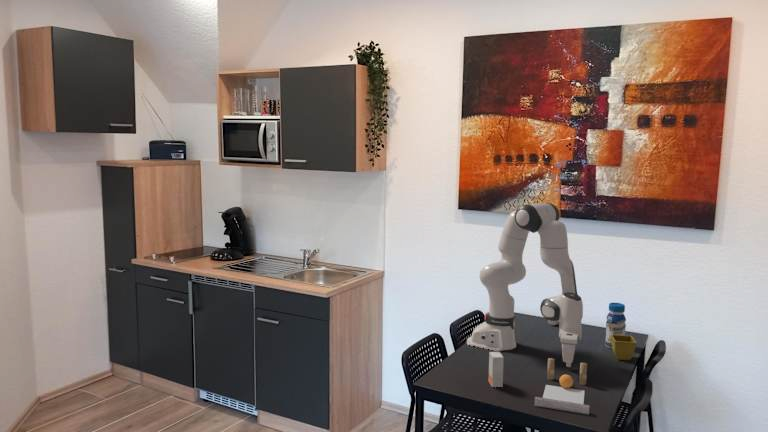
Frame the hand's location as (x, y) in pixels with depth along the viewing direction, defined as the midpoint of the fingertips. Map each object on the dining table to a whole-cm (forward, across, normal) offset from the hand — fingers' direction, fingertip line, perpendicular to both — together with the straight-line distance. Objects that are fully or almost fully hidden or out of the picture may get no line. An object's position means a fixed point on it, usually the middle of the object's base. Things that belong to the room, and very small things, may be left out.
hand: (568, 365), depth 233 cm
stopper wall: (+2, +39, 0) cm, 39 cm away
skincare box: (+2, +27, -25) cm, 37 cm away
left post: (+2, +13, -6) cm, 14 cm away
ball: (-1, +19, 0) cm, 19 cm away
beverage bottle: (+2, -38, +18) cm, 42 cm away
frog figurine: (+2, -61, -11) cm, 62 cm away
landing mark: (+2, +27, 0) cm, 27 cm away
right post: (+2, +13, +6) cm, 14 cm away
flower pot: (+2, -23, +21) cm, 31 cm away
